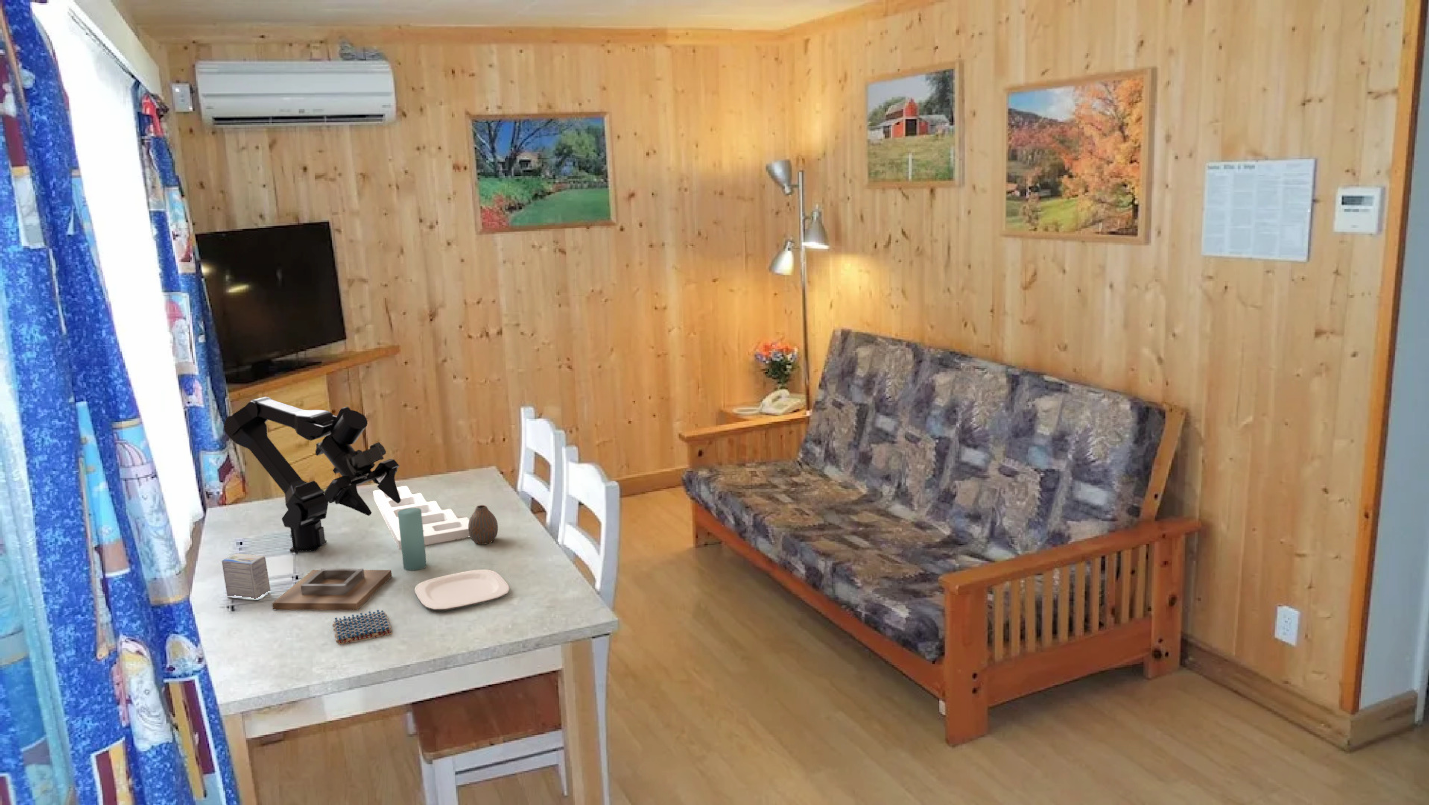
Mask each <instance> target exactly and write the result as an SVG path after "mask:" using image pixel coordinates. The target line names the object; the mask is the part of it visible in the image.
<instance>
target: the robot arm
mask: <svg viewBox="0 0 1429 805" xmlns="http://www.w3.org/2000/svg"><path fill="white" fill-rule="evenodd" d="M267 421H271V422H274V423H277V424H280V425H282V426H286V427H288V428H292V429H293V430H295V433H296V434H297V435H298V436H300V437H302V438H304V439H305V440H308V441H315V440H318V439H321V438H323V439H322V441H320V442H316V444H315V446H316V448H315V456H318V457H319V456H321V455H325V457H326V459H327V460H329V462H330V463H331V465H332V466H333V467H334V468H333V469H332V472H333V474H335V475H336V474H340V475H341V476H339V477H337V478H334V479H332V480H331V482H330V483H329V485H328V486H327V487H326V489H325V490H323V489H322V488H321V487H320V486H319V483H318V482H317V481H315V480H311V481H309V482H308V481H305V480H303V479H302V477H301V475H299V474H298V473H297V471H296V470H295V469H294V468H293V466H292V465H291V464H290V463H289V461H288V460H287V459H286V458H285V456H284V455H283V453H281V451H280V450H279V449H278V448H277V447H276V446H275V444H274V443H273V442H272V440H271V439H270V438H269V436H268V425H267ZM367 426H368V420H367V418H366V416H365V415H364V414H362V413H361V412H359V411H356V410H353V409H350V407H349V406H346V407H342V408H340V410H338V413H337V415H334V414H333V413H332V412H331V411H329V410H322V409H309V410H308V409H301V408H299V407H295V406H292V405H290V404H285V403H284V402H283V403H282V402H280V401H276V400H275V399H272V398H271V397H268V396H263V397H259V398H254V399H251V400H250V401H249V402H247V403H246V405H245V406H243V407H242V408H240V409H239V410H237V411H236V412H234V413H233V414H232V415H228V416H227V417H226V418H225V421H224V424H223V430H224V433H225V434H226V435H227V437H228V438H230V439H231V440H232V441H233V442H234V443H235V444H236V445H238V446H240V447H242V448H245V449H248V450H249V451H250V452H251V454H253V456H254V457H255V459H256V460H257V461H258V462H259V463H260V464H261V466H262V467H263V468H264V470H265V471H266V472H267V473H268V475H270V477H271V478H272V479H273V481H274V482H275V483H276V485H277V486H278V488H280V489H281V491H282V492H283V493H284V497H285V498H284V501H285V502H284V503H285V507H286V508H287V510H286V512H285V513H284V515H283V516H282V517H281V520H282V523H283V526H284V527H285V528H289V529H290V536H291V544H292V546H291V547H290V548H289V552H316V551H318V550H319V549H320V548H321V547H323V546H324V545H325V544H327V543H328V541H327V540H326V535H325V530H324V529H325V528H324V526H323V525H322V520H324V519H326V518H327V513H328V507H329V504H333V503H334V504H335V505H342V506H344V507H347V508H350V509H352V510H354V511H357V512H359V513H361V514H362V515H363V514H364V515H365V516H371V515H372V512H373V511H371V509H370V508H369V506H368V505H367V503H366V502H365V501H364V499H363V498H362V496H360V494H359V493H358V487H359V486H361V485H364V484H366V483H368V482H374V484H376V485H377V489H378V490H381V491H382V492H384V493H385V494H386V495H387V496H388V497H390V498H391V499H392V500H393V501H395V502H396V503H400V501H401V499H400V496H399V493H398V490H397V485H396V479H395V477H396V473H398V469H399V468H400V465H399V463H398V462H397V461H396V460H395V459H393V458H389V459H387V460H386V459H385V460H384V456H385V455H386V453H387V451H386V449H385V447H384V446H383V444H382V443H381V442H379V441H378V442H375V443H373V444H372V445H371V444H370V446H369V449H365V450H363V451H362V450H361V449H358V450H355V448H354V447H353V446H352V445H353V444H355V443H356V442H357V440H358V439H359V438H360V436H361V435H362V433H363V432H364V431H365V429H366V427H367ZM380 460H381V462H379V463H378V465H377V466H376V464H375V463H376V462H378V461H380ZM382 460H383V461H382ZM375 466H376V467H375ZM374 467H375V468H374ZM373 468H374V470H372V469H373Z"/></svg>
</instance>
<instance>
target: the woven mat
mask: <svg viewBox="0 0 1429 805" xmlns="http://www.w3.org/2000/svg"><path fill="white" fill-rule="evenodd" d="M387 616H388V614H387V613H386V611H385V610H381V611H380V610H379V609H376V611H373V612H371V611H368V614H367V613H364V614H363V612H360V615H359V614H356V616H355V614H352V615H351V617H350V616H346V615H344V616H343V619H342V618H341V617H339V619H338V618H337V617H334V621H333V623H332V627H334V628H333V631H334V632H335V633H334V638H336V639H335V642H336V643H337V645H344V644H350V643H354V642H355V643H356V642H359V641H364V640H370V639H374V638H375V639H376V638H379V637H384V636H390V635H393V632H392V631H393V630H392V626H391V625H390V621H389V618H388V617H387Z"/></svg>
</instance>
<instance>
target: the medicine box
mask: <svg viewBox="0 0 1429 805" xmlns="http://www.w3.org/2000/svg"><path fill="white" fill-rule="evenodd" d="M266 560H267V559H266V556H264V555H258V554H250V553H249V554H247V553H234V554H232V555H230V556H228V557H225V558H223V560H221V565H222V571H223V572H222V573H223V577H224V578H223V579H224V584H225V591H226V597H227V596H234V595H236V596H242V597H251V598H254V599H256V598H258V597H260V596H261V595H262V594H265V593H266V592H268V591H271V586H270V579H269V578H270V577H269V572H268V566H267V561H266ZM271 592H272V591H271Z"/></svg>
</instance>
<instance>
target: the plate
mask: <svg viewBox="0 0 1429 805" xmlns="http://www.w3.org/2000/svg"><path fill="white" fill-rule="evenodd" d="M510 589H511V588H510V586H509V584H508V583H507V582H506V580H505V579H504V578H503V577H502V575H500V573H499V574H498V572H496V571H493V570H490V569H472V570H466V571H462V572H456V573H451V574H445V575H442V576H438V577H434V578H429V579H425V580H424V581H422V582H418V584H417V585H416V586H415V588H414V592H415V596H416V597H417V599H418V600H419V602H420V603H421V604H422V605H423V606H424V607H425V608H426V609H429V610H433V611H447V610H455V609H460V608H466V607H470V606H474V605H479V604H483V603H486V602H490V601H496V600H497V599H500V598H502V597H504V596H506V595H508V593H509V592H510Z"/></svg>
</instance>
